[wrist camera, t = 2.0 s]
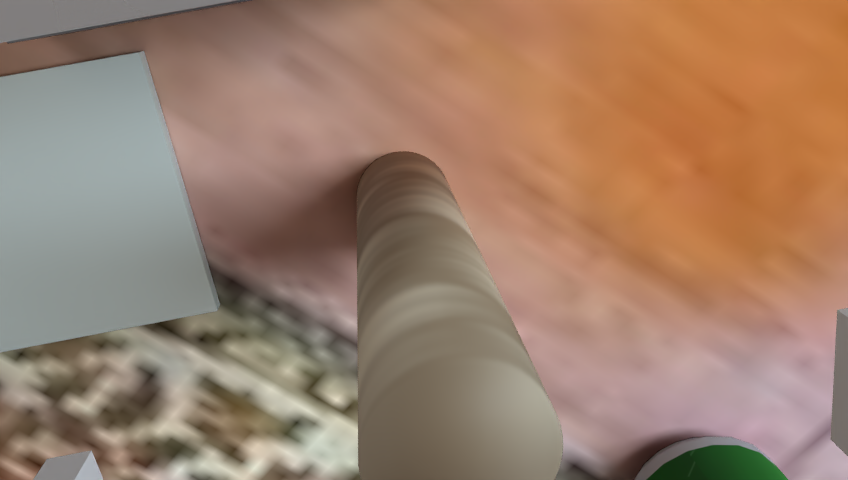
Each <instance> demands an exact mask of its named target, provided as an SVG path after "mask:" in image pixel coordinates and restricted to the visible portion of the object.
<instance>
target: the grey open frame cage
mask: <svg viewBox="0 0 848 480" xmlns="http://www.w3.org/2000/svg"><path fill="white" fill-rule="evenodd" d="M246 1H252V0H0V43H2V42H7V43H14V42H20V41H26V40H32V39H38V38H45V37H50V36H56V35H62V34H67V33H73V32H78V31H84V30H90V29H95V28H101V27H106V26H112V25H118V24H123V23H129V22H134V21H140V20H146V19H151V18H157V17H162V16H168V15H174V14H179V13H185V12H190V11H196V10H202V9H207V8H213V7H218V6H224V5H230V4H235V3H241V2H246Z"/></svg>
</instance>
